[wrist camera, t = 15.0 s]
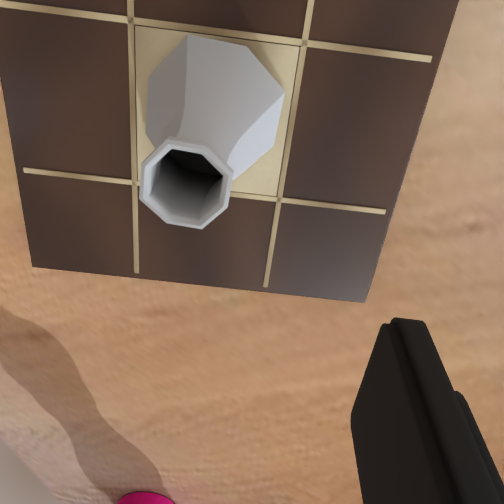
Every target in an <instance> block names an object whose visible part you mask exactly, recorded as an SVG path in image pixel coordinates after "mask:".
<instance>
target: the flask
mask: <svg viewBox="0 0 504 504" xmlns="http://www.w3.org/2000/svg"><path fill="white" fill-rule="evenodd" d="M284 95H285V91H284V90H283V89H282V87H281V86H280V85H279V84H278V83H277V81H276V80H275V79H274V78H273V77H272V76H271V74H270V73H269V72H268V71H267V70H266V68H265V67H264V66H263V65H262V64H261V63H260V61H259V60H258V59H257V58H256V57H255V56H254V54H253V53H252V52H251V51H250V50H249V48H248V47H247V46H243V45H238V44H233V43H228V42H223V41H219V40H214V39H209V38H204V37H199V36H194V35H189V34H187V35H186V37H185V38H184V39H183V40H182V41H181V42H180V43H179V44H178V45H177V46H176V48H175V49H174V50H173V51H172V52H171V53H170V54H169V55H168V56H167V57H166V58H165V60H164V61H163V62H162V63H161V64H160V65H159V66H158V67H157V68H156V69H155V70H154V72H153V73H152V74H151V75H150V76H149V80H148V96H147V112H146V129H145V133H146V135H147V137H148V138H149V140H150V141H151V143H152V144H153V146H154V148H155V150H154V151H153V152H152V153H151V154H150V155H149V156H148V157H147V158H146V159H145V160H144V161H143V162H142V164H141V174H140V191H139V199H140V200H141V201H142V202H143V203H144V204H145V205H146V206H148V207H149V208H150V209H151V210H152V211H153V212H154V213H155V214H157V215H158V216H159V217H160V218H161V219H162V220H163V221H165V222H166V223H168V224H174V225H180V226H185V227H191V228H197V229H203V228H204V227H205V226H206V225H208V224H209V223H210V222H211V221H212V220H214V219H215V218H216V217H217V216H218V215H219V214H221V213H222V212H223V211H224V210H225V209H227V207H228V203H229V197H230V191H231V186H232V181H233V180H235V179H236V178H237V177H239V176H240V175H241V174H242V173H243V172H244V171H245V170H247V169H248V168H249V167H250V166H251V165H252V164H253V163H255V162H256V161H257V160H258V159H259V158H260V157H261V156H263V155H264V154H265V153H266V152H267V151H268V150H270V149H271V148H272V147H273V146H274V142H275V137H276V132H277V128H278V123H279V118H280V114H281V109H282V104H283V100H284Z"/></svg>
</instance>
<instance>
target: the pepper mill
mask: <svg viewBox="0 0 504 504" xmlns="http://www.w3.org/2000/svg"><path fill="white" fill-rule="evenodd" d="M117 504H174V503H173V502H172V501H170V500H169V499H168V498H166V497H164V496H162V495H159V494H156V493H150V492H135V493H131V494H128V495H126V496H124V497H122V498H121V499H120V500H119V502H118V503H117Z"/></svg>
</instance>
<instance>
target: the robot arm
mask: <svg viewBox="0 0 504 504" xmlns="http://www.w3.org/2000/svg"><path fill="white" fill-rule="evenodd" d="M351 431H352V437H353V443H354V450H355V456H356V462H357V468H358V474H359V480H360V487H361V493H362V499H363V504H504V484H503V482H502V480H501V478H500V475H499V473H498V471H497V469H496V466H495V464H494V462H493V460H492V457H491V455H490V453H489V451H488V448H487V446H486V444H485V442H484V439H483V437H482V435H481V433H480V430H479V428H478V426H477V424H476V421H475V419H474V417H473V415H472V412H471V410H470V408H469V406H468V403H467V401H466V400H465V398H464V396H463V395H462V394H461V393H459V392H458V391H454V390H453V387H452V385H451V382H450V380H449V378H448V375H447V373H446V371H445V368H444V366H443V364H442V361H441V359H440V357H439V354H438V352H437V350H436V347H435V345H434V343H433V340H432V338H431V335H430V333H429V331H428V328H427V326H426V324H425V323H424V322H423V321H420V320H412V319H404V318H393V319H392V320H391V322H390V324H386V323H384V324H382V326H381V328H380V331H379V333H378V336H377V339H376V342H375V345H374V348H373V351H372V354H371V357H370V359H369V362H368V365H367V368H366V371H365V374H364V377H363V380H362V383H361V385H360V388H359V391H358V394H357V397H356V400H355V403H354V406H353V409H352V412H351Z"/></svg>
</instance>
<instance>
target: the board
mask: <svg viewBox="0 0 504 504" xmlns="http://www.w3.org/2000/svg"><path fill="white" fill-rule="evenodd" d="M458 2H459V0H0V76H1V82H2V88H3V94H4V100H5V106H6V112H7V118H8V124H9V130H10V136H11V142H12V148H13V154H14V160H15V166H16V172H17V178H18V184H19V190H20V196H21V202H22V208H23V214H24V220H25V226H26V232H27V238H28V244H29V250H30V256H31V262H32V267H39V268H48V269H57V270H66V271H76V272H85V273H94V274H103V275H112V276H122V277H131V278H140V279H149V280H158V281H168V282H177V283H186V284H195V285H204V286H214V287H223V288H232V289H241V290H250V291H260V292H269V293H278V294H287V295H296V296H305V297H315V298H324V299H333V300H342V301H351V302H361V303H365V302H366V298H367V295H368V292H369V289H370V285H371V282H372V279H373V276H374V273H375V269H376V266H377V263H378V260H379V256H380V253H381V250H382V247H383V244H384V240H385V237H386V234H387V231H388V227H389V224H390V221H391V218H392V215H393V211H394V208H395V205H396V202H397V198H398V195H399V192H400V189H401V186H402V182H403V179H404V176H405V173H406V169H407V166H408V163H409V160H410V157H411V153H412V150H413V147H414V144H415V140H416V137H417V134H418V131H419V127H420V124H421V121H422V118H423V115H424V111H425V108H426V105H427V102H428V98H429V95H430V92H431V89H432V86H433V82H434V79H435V76H436V73H437V69H438V66H439V63H440V60H441V57H442V53H443V50H444V47H445V44H446V40H447V37H448V34H449V31H450V28H451V24H452V21H453V18H454V15H455V11H456V8H457V5H458ZM187 34H189V35H194V36H199V37H204V38H209V39H214V40H219V41H223V42H228V43H233V44H238V45H243V46H247V47H248V48H249V50H250V51H251V52H252V53H253V54H254V56H255V57H256V58H257V59H258V60H259V61H260V63H261V64H262V65H263V66H264V67H265V68H266V70H267V71H268V72H269V73H270V74H271V76H272V77H273V78H274V79H275V80H276V81H277V83H278V84H279V85H280V86H281V87H282V89H283V90H284V91H285V95H284V100H283V104H282V109H281V114H280V118H279V123H278V128H277V132H276V137H275V142H274V146H273V147H272V148H271V149H270V150H268V151H267V152H266V153H265V154H264V155H263V156H261V157H260V158H259V159H258V160H257V161H256V162H255V163H253V164H252V165H251V166H250V167H249V168H248V169H247V170H245V171H244V172H243V173H242V174H241V175H240V176H239V177H237V178H236V179H235V180H233V181H232V186H231V191H230V197H229V203H228V207H227V209H225V210H224V211H223V212H222V213H221V214H219V215H218V216H217V217H216V218H215V219H214V220H212V221H211V222H210V223H209V224H208V225H206V226H205V227H204V228H203V229H197V228H191V227H185V226H180V225H174V224H168V223H166V222H165V221H163V220H162V219H161V218H160V217H159V216H158V215H157V214H155V213H154V212H153V211H152V210H151V209H150V208H149V207H148V206H146V205H145V204H144V203H143V202H142V201H141V200H140V199H139V191H140V174H141V164H142V162H143V161H144V160H145V159H146V158H147V157H148V156H149V155H150V154H151V153H152V152H153V151H154V150H155V148H154V146H153V144H152V143H151V141H150V140H149V138H148V137H147V135H146V133H145V129H146V112H147V96H148V80H149V76H150V75H151V74H152V73H153V72H154V70H155V69H156V68H157V67H158V66H159V65H160V64H161V63H162V62H163V61H164V60H165V58H166V57H167V56H168V55H169V54H170V53H171V52H172V51H173V50H174V49H175V48H176V46H177V45H178V44H179V43H180V42H181V41H182V40H183V39H184V38H185V37H186V35H187Z"/></svg>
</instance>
